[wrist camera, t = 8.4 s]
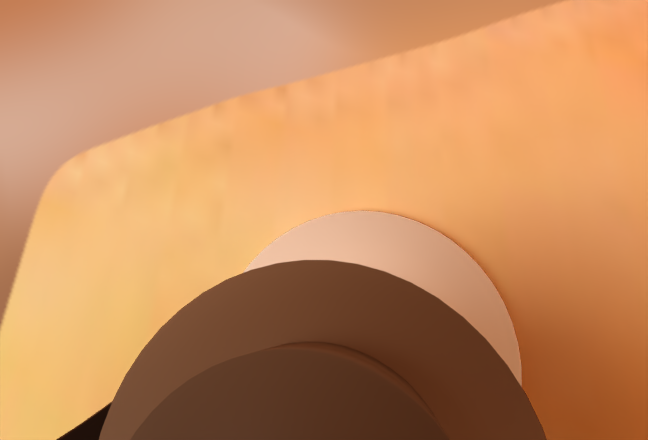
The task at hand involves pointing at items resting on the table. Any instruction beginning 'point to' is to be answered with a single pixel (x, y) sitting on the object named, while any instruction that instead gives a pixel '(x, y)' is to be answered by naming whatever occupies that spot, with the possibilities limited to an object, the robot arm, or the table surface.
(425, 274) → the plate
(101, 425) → the robot arm
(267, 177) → the table surface
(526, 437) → the pepper mill
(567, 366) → the table surface
